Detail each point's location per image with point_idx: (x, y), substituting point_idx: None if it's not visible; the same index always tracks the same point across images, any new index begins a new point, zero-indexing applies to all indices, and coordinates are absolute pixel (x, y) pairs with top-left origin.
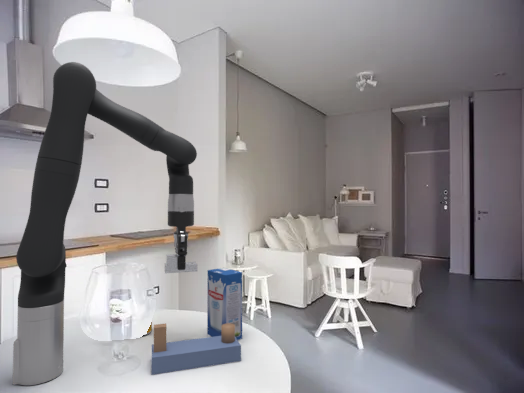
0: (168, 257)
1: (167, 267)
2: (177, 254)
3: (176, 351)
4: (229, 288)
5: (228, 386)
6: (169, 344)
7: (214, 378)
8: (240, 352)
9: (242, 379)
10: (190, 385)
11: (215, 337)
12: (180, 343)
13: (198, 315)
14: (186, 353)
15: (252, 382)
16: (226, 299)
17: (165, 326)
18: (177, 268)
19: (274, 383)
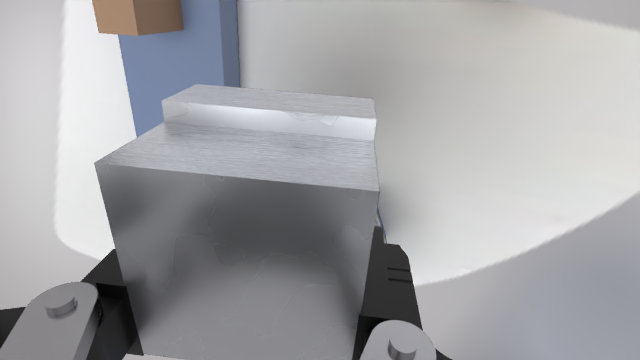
0: (100, 179)
1: (173, 122)
2: (29, 304)
3: (142, 60)
4: None
5: (65, 151)
6: (202, 44)
7: (101, 133)
8: None
9: (91, 185)
10: (75, 74)
11: None
12: (202, 82)
13: (570, 200)
14: (129, 88)
15: (78, 198)
16: None
17: (100, 28)
18: None
19: (71, 231)
